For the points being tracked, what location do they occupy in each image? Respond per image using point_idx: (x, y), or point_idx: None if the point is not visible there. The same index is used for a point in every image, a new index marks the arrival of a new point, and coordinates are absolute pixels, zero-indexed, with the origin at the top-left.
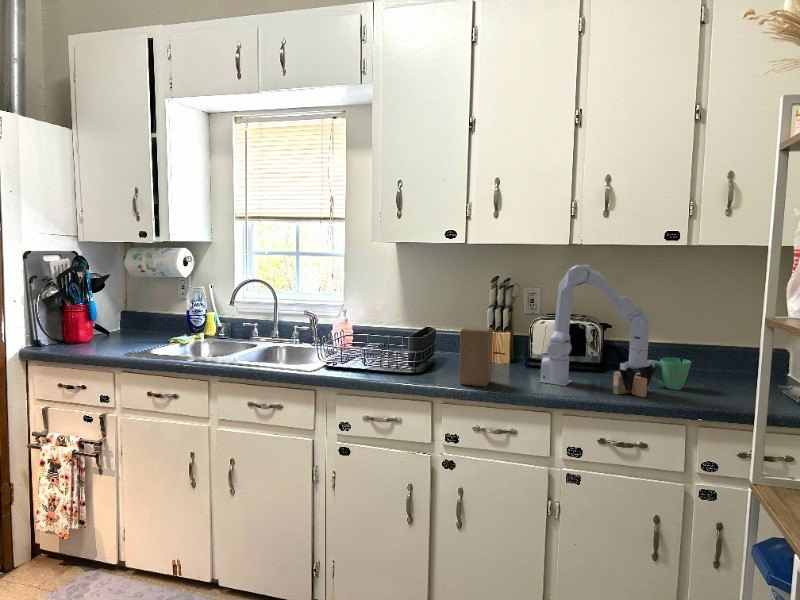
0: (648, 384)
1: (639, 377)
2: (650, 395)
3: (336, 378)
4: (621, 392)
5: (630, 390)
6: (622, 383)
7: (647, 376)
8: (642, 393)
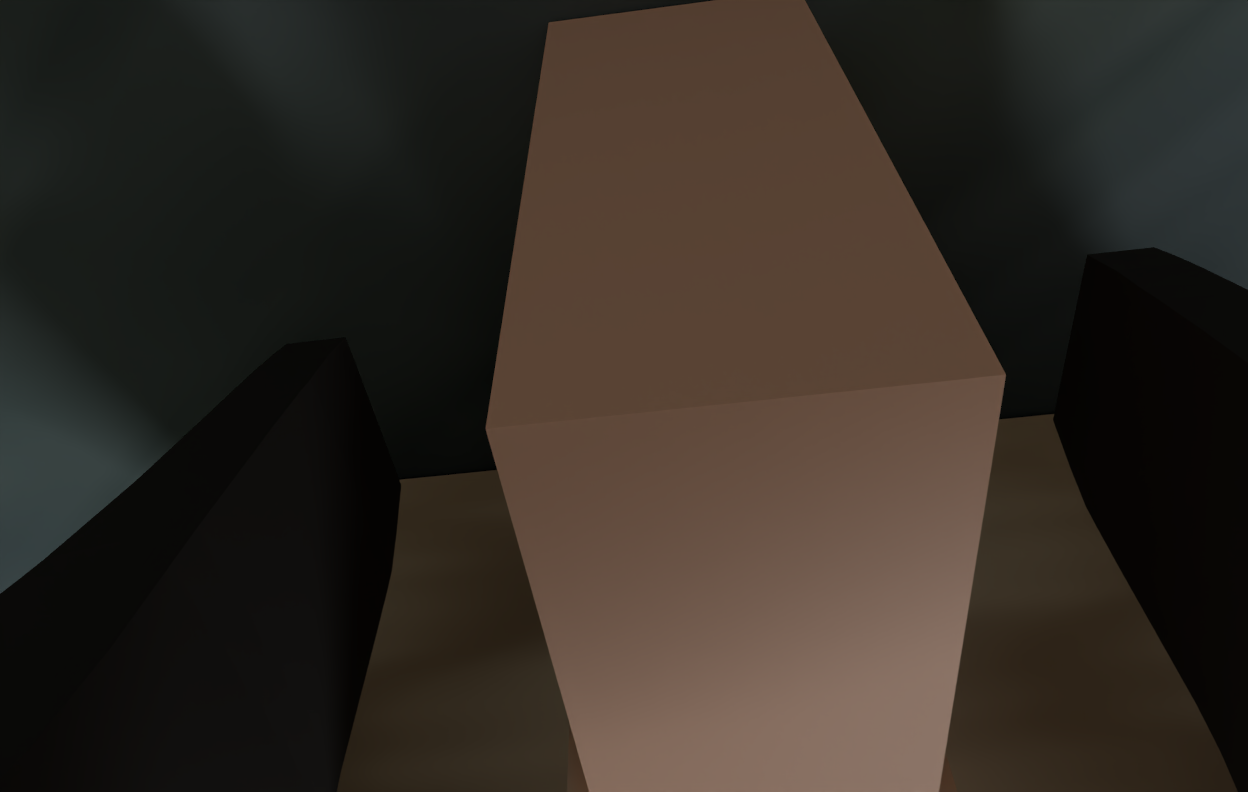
0: (218, 414)
1: (747, 683)
2: (329, 71)
3: None
4: (1034, 440)
5: (1156, 251)
6: (1118, 644)
7: (160, 719)
8: (769, 32)
